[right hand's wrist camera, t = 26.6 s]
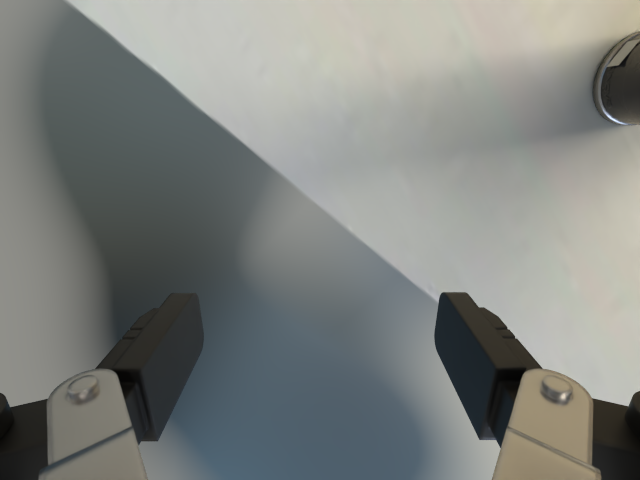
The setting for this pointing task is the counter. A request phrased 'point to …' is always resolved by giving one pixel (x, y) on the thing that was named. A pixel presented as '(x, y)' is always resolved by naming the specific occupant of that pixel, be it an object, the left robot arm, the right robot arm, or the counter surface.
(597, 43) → the counter surface
